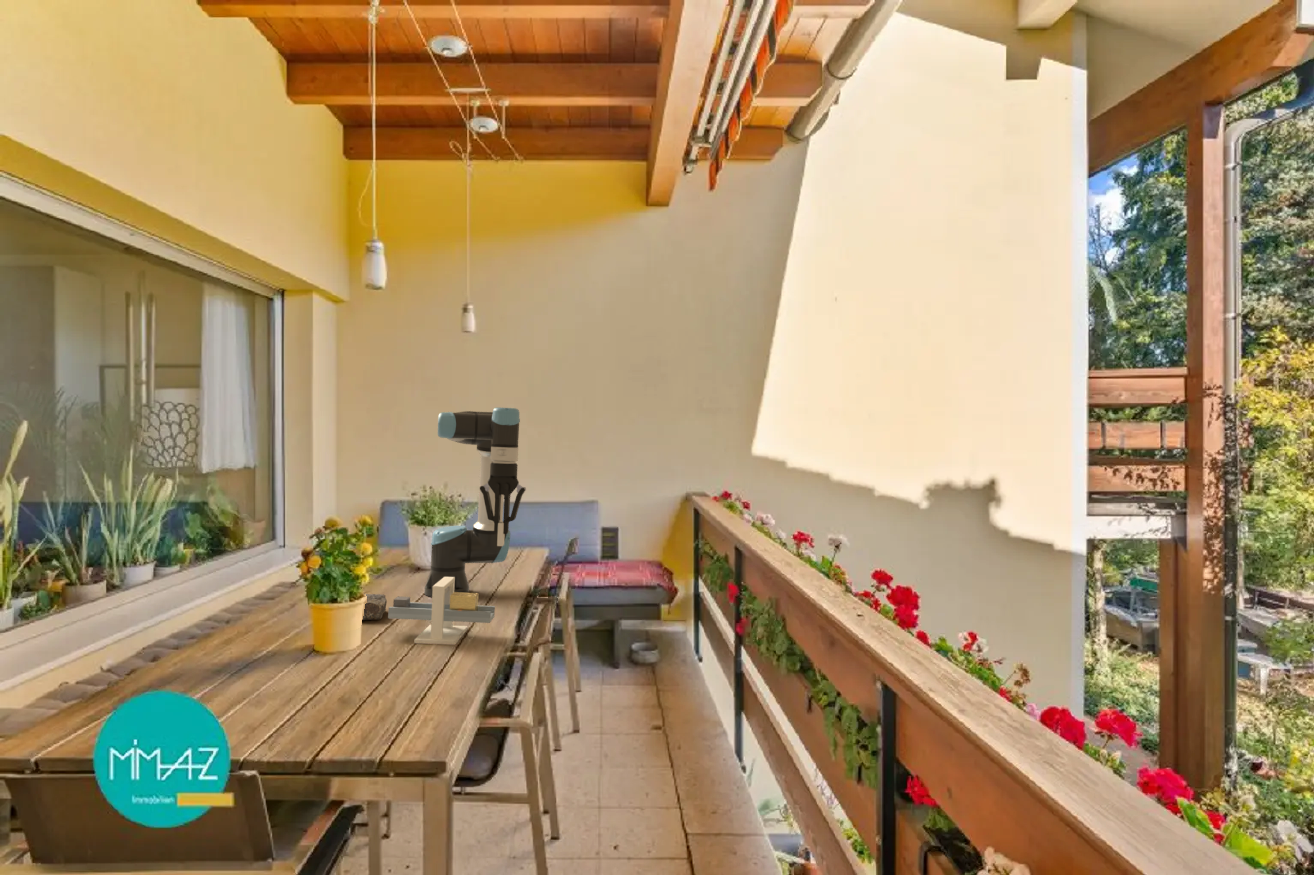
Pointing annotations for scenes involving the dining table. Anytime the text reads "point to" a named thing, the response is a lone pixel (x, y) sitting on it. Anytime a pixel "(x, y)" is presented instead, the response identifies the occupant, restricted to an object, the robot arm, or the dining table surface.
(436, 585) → the stand
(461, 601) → the block
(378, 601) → the rock
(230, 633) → the dining table surface
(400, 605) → the beam
